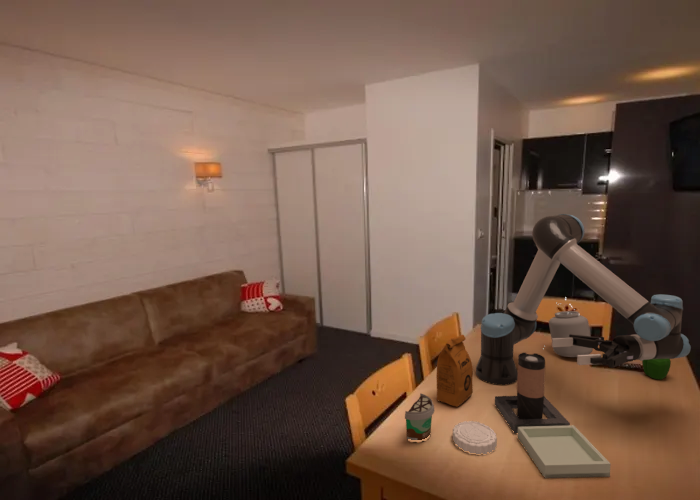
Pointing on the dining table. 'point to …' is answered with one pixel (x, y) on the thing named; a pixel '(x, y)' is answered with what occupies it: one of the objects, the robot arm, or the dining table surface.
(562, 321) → the jar
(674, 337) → the robot arm
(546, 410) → the holder frame
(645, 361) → the bell pepper
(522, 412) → the travel mug
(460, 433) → the mooncake
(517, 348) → the dining table surface
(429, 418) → the food container
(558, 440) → the tray
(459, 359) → the coffee package
